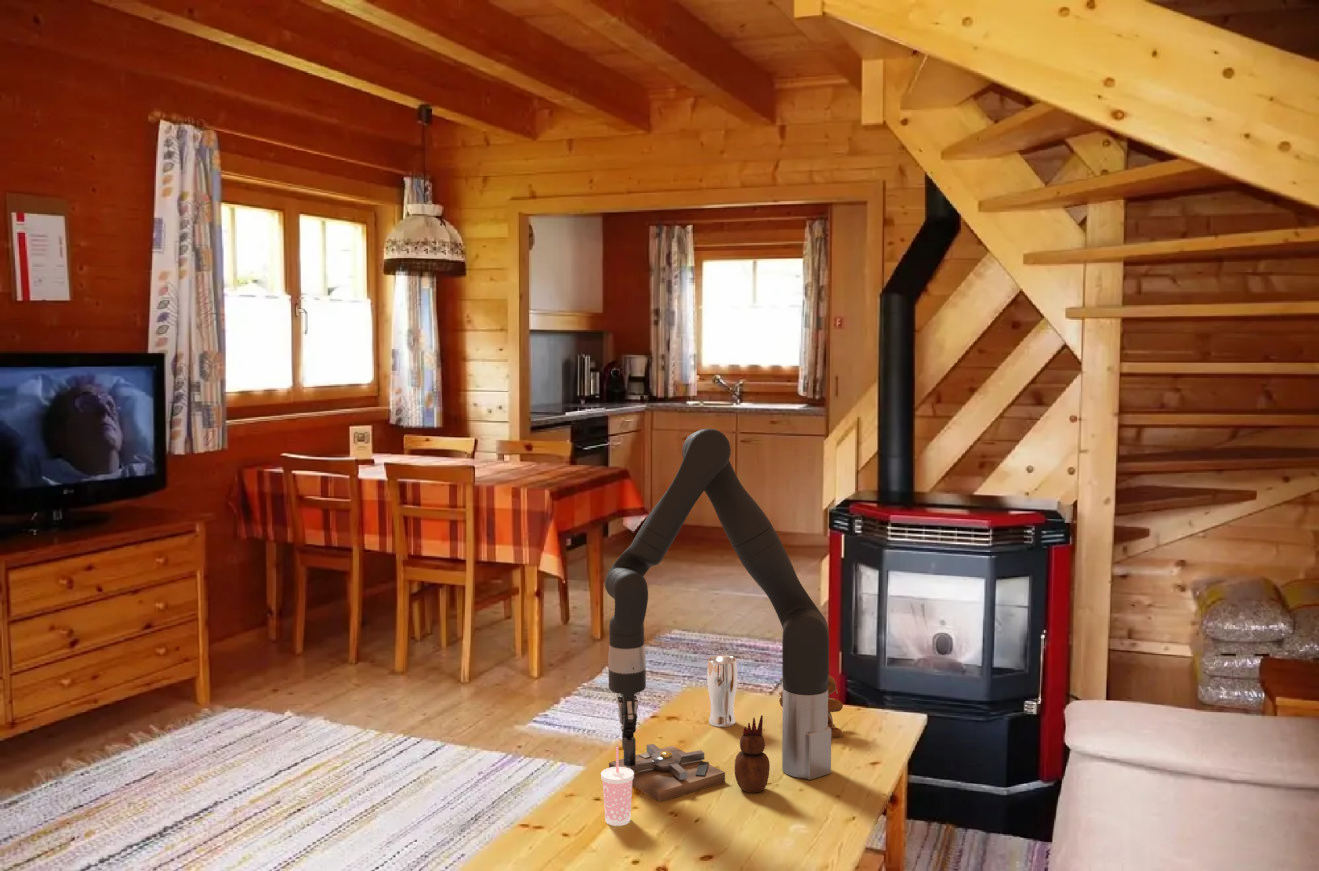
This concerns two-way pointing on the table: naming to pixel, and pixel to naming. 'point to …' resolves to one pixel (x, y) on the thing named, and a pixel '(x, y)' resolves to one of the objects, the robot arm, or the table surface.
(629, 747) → the capstan
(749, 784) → the wooden figurine
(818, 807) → the table surface
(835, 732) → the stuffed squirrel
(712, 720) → the beer glass
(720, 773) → the stand
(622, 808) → the beverage cup
